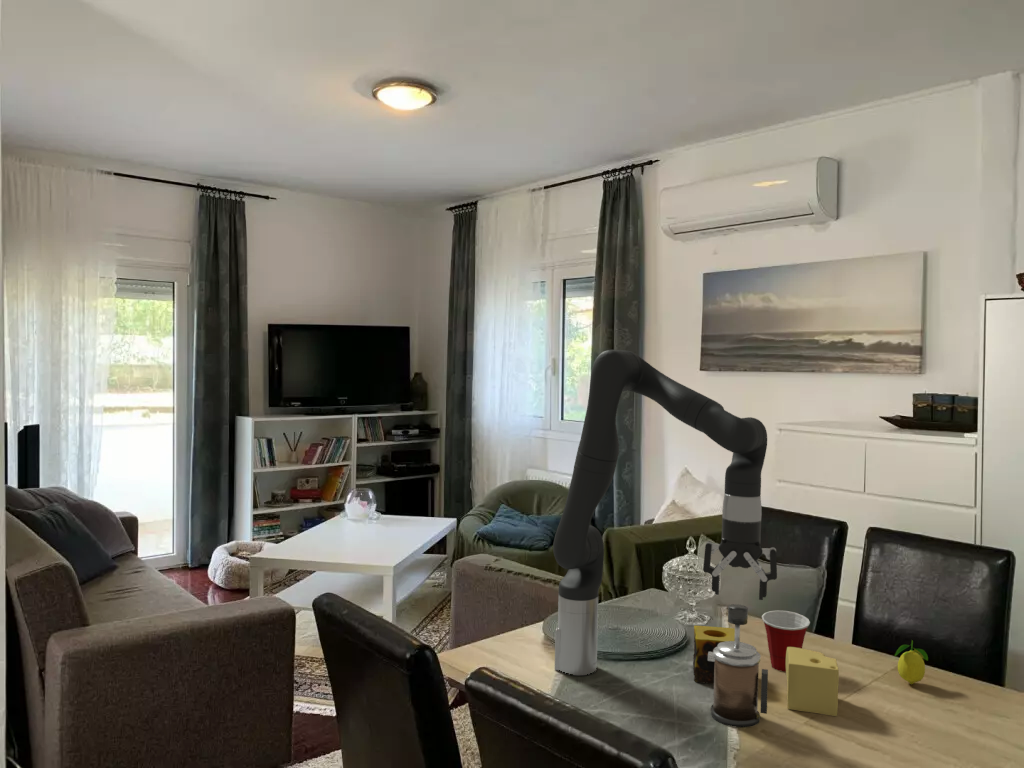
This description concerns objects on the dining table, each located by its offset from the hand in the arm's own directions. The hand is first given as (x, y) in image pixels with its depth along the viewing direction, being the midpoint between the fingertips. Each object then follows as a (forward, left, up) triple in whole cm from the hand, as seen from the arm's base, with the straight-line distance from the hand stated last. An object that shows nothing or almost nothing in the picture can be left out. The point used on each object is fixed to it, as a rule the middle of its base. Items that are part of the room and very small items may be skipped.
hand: (738, 596), depth 159 cm
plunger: (0, 0, -11) cm, 11 cm away
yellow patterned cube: (-5, +20, -25) cm, 32 cm away
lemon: (+37, +31, -25) cm, 54 cm away
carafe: (0, 0, -25) cm, 25 cm away
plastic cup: (+10, +31, -25) cm, 41 cm away
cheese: (+15, +12, -25) cm, 31 cm away
